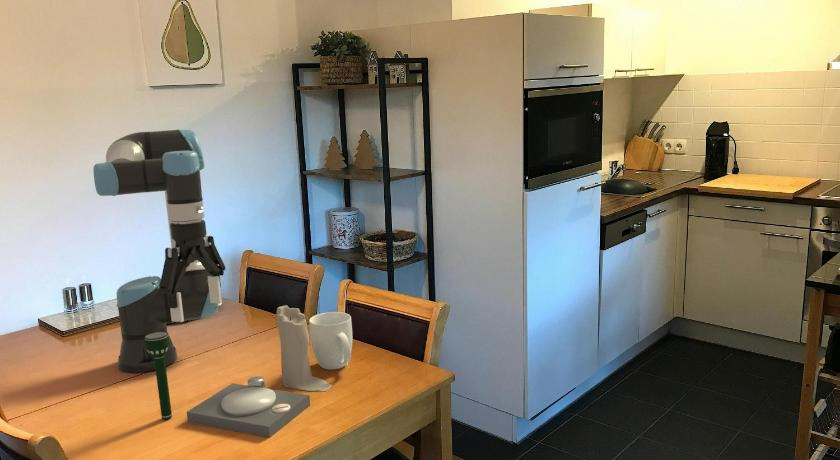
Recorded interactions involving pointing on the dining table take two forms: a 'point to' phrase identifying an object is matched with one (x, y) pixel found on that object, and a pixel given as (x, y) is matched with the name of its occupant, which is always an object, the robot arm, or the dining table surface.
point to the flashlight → (160, 368)
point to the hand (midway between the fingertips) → (197, 311)
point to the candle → (296, 351)
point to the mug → (331, 339)
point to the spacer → (256, 381)
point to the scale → (249, 409)
